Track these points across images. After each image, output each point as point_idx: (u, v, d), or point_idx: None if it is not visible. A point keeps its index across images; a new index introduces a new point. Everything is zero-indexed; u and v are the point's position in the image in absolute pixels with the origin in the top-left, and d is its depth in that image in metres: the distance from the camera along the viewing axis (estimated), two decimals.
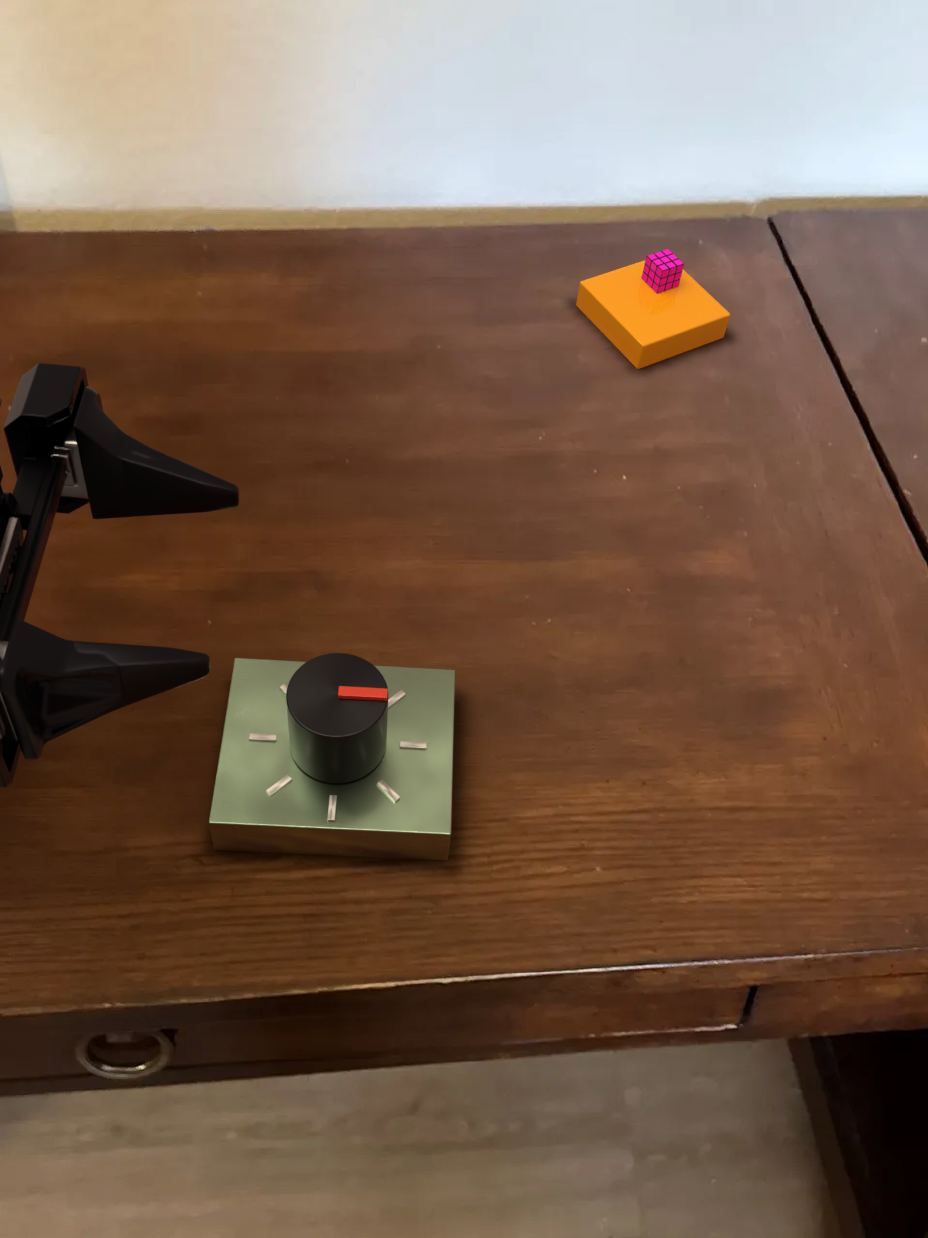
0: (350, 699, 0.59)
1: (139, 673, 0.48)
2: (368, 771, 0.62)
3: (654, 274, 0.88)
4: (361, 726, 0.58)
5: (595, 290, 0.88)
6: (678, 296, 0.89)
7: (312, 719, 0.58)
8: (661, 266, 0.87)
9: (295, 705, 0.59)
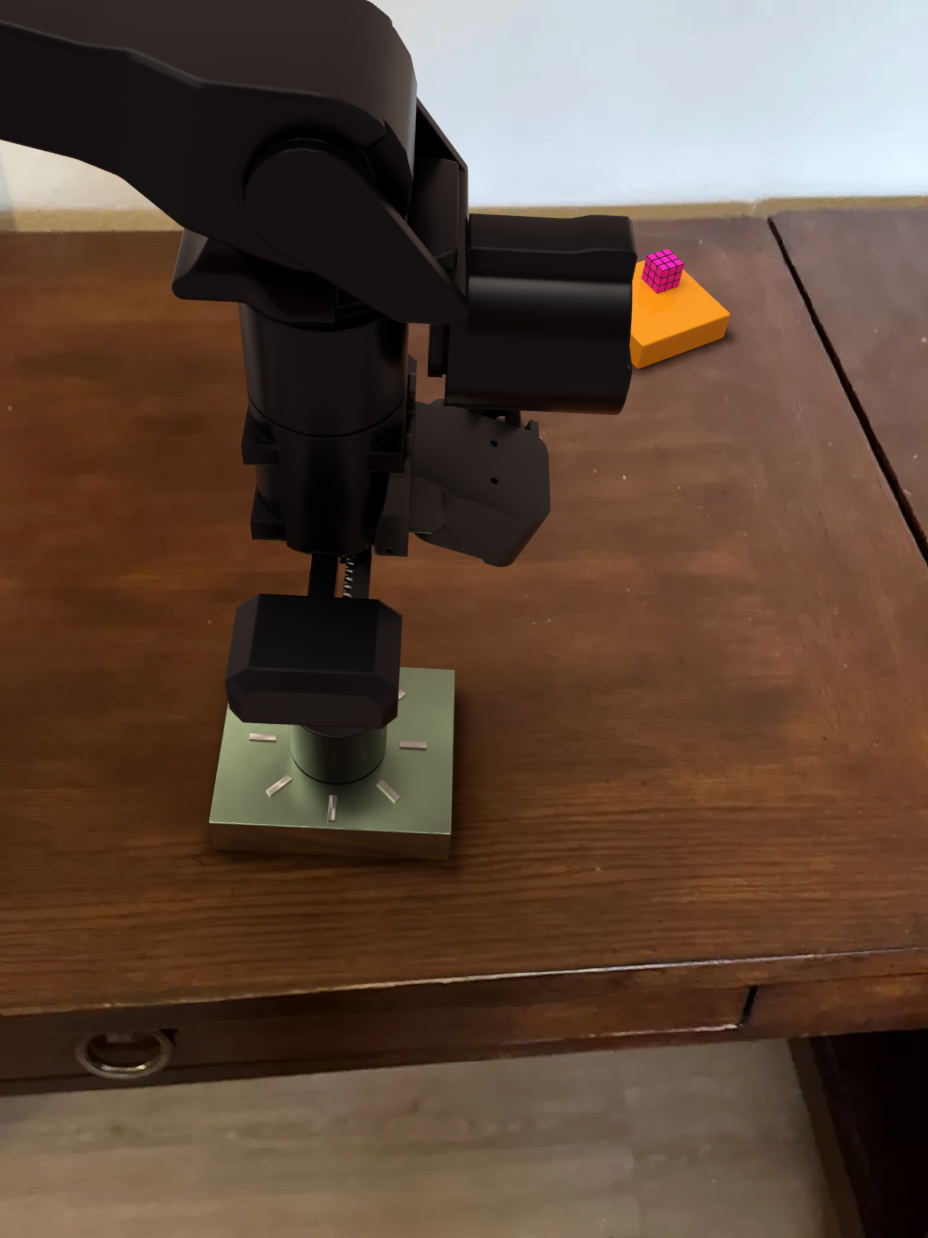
0: None
1: None
2: (368, 771, 0.62)
3: (654, 274, 0.88)
4: None
5: None
6: (678, 296, 0.89)
7: None
8: (661, 266, 0.87)
9: None
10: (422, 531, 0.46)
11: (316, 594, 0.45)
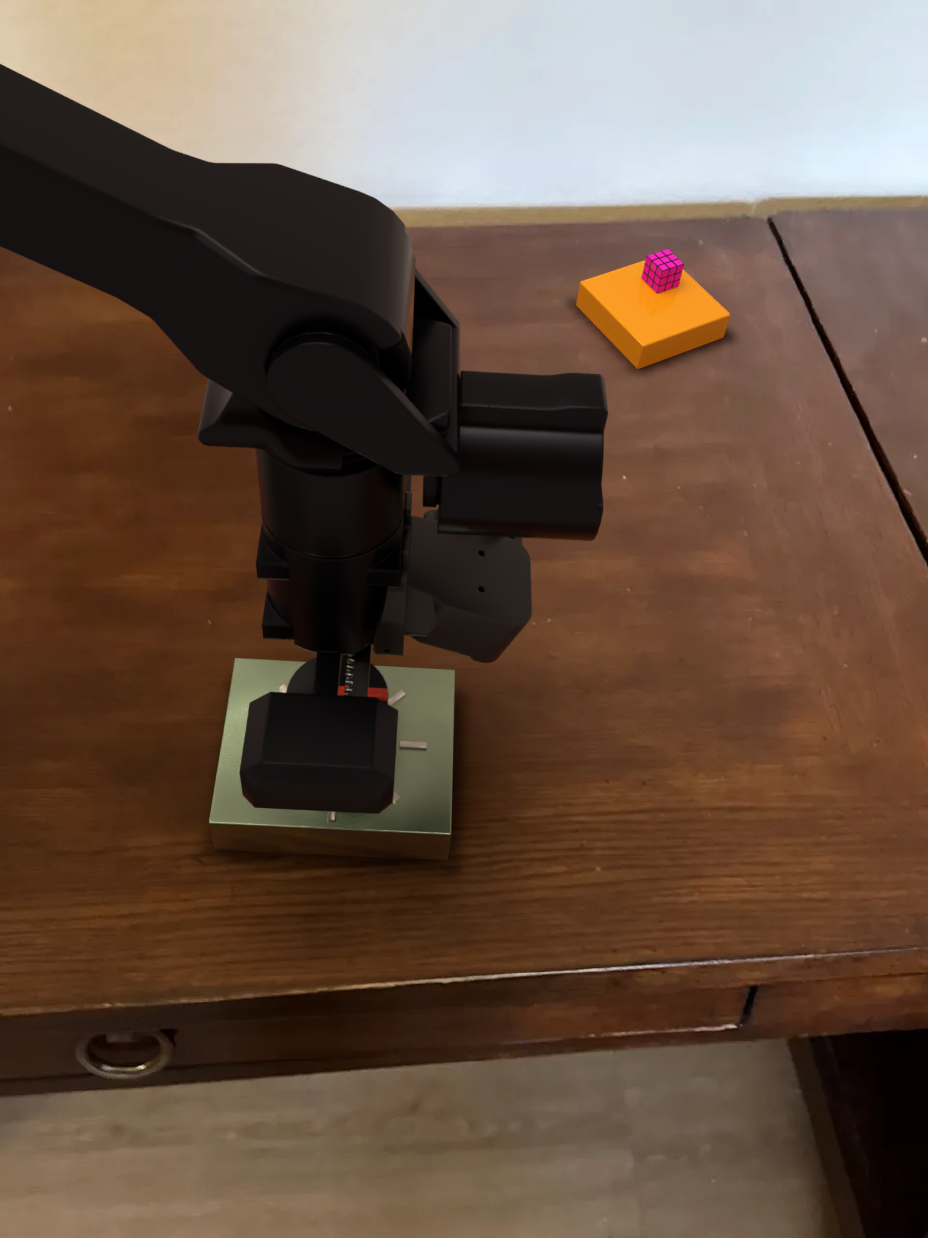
0: None
1: None
2: None
3: (654, 274, 0.88)
4: None
5: (595, 290, 0.88)
6: (678, 296, 0.89)
7: None
8: (661, 266, 0.87)
9: None
10: (416, 635, 0.51)
11: (321, 691, 0.50)
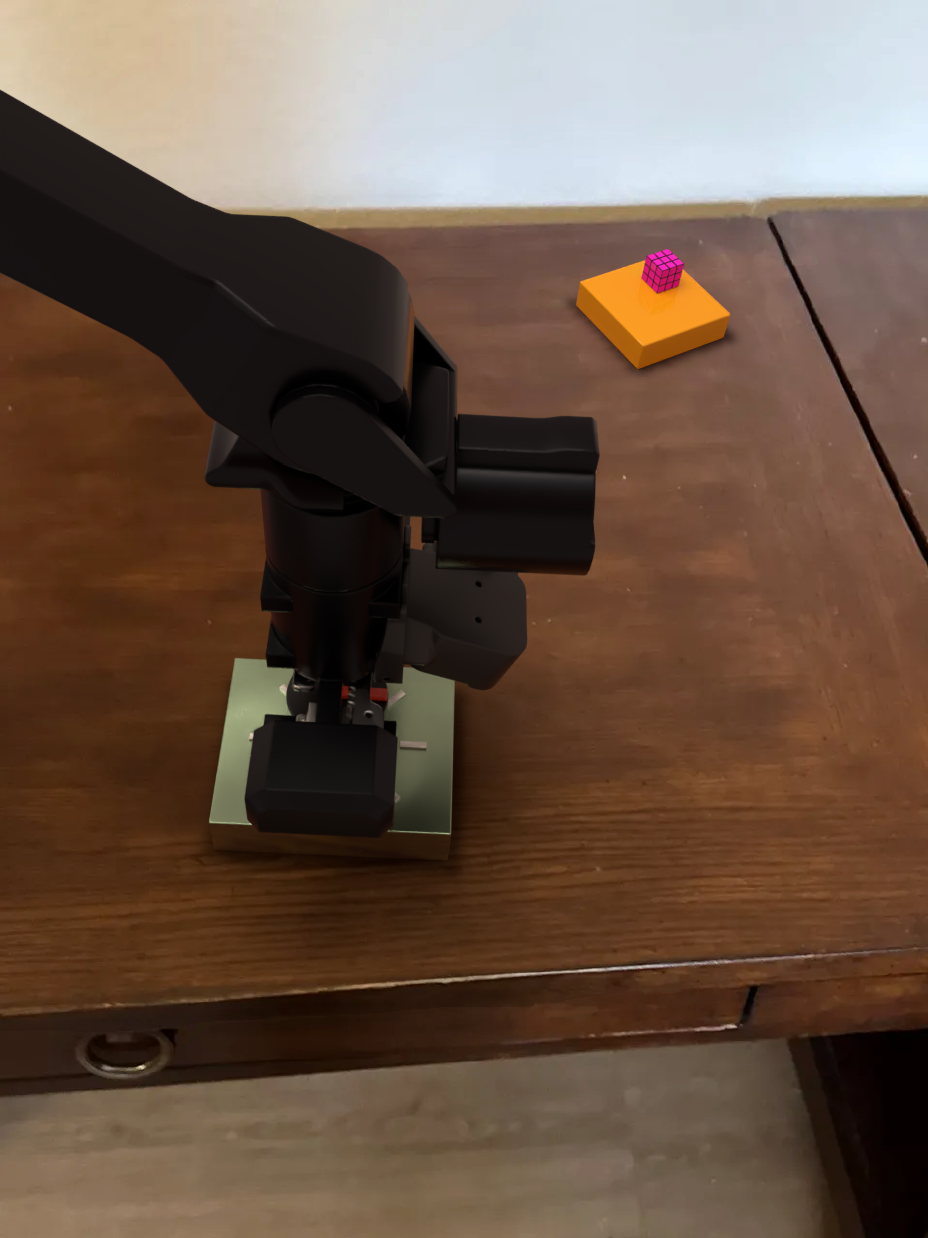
0: None
1: None
2: None
3: (654, 274, 0.88)
4: None
5: (595, 290, 0.88)
6: (678, 296, 0.89)
7: None
8: (661, 266, 0.87)
9: (295, 705, 0.59)
10: (415, 664, 0.52)
11: (323, 719, 0.52)
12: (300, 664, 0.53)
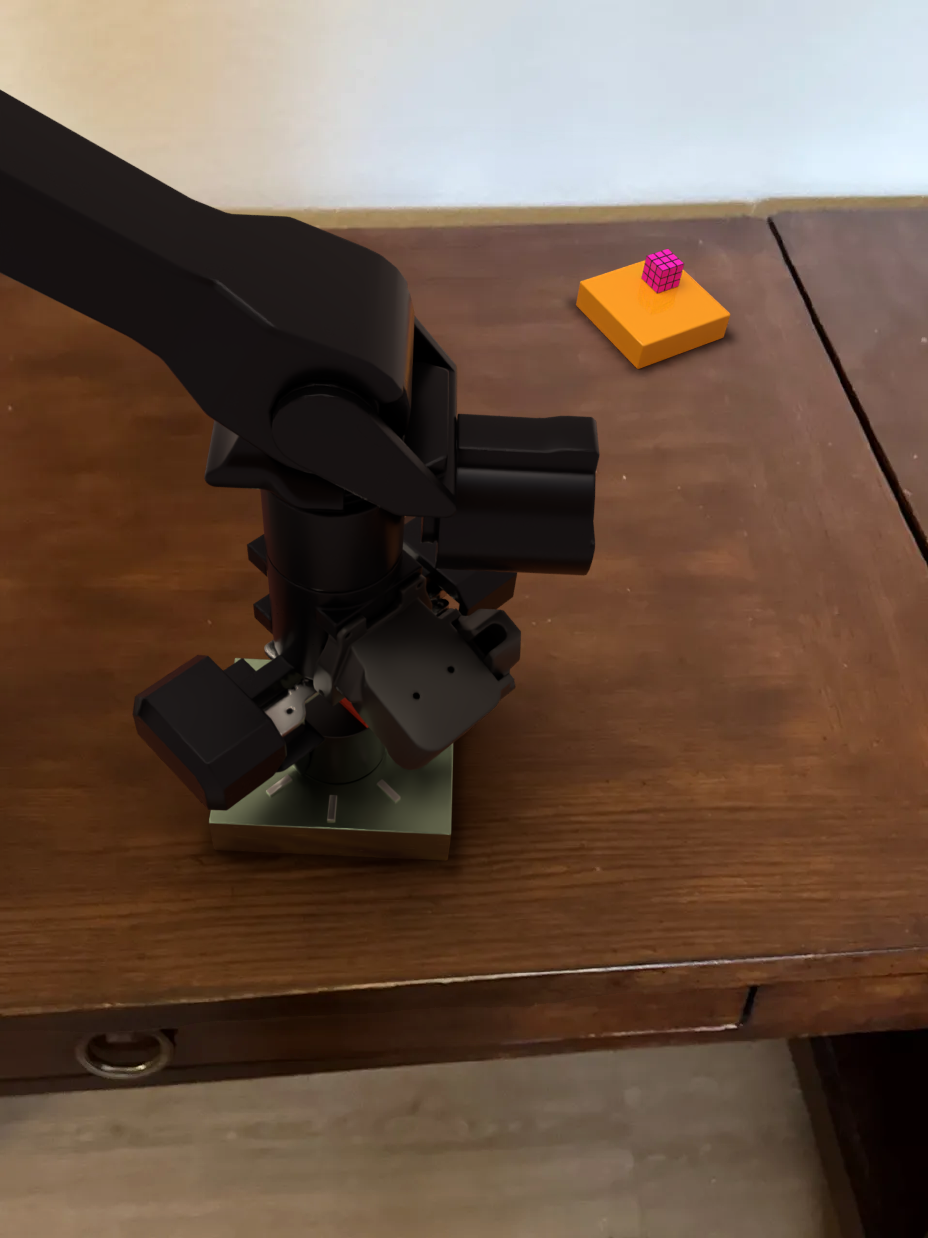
0: (341, 705, 0.59)
1: None
2: (333, 781, 0.61)
3: (654, 274, 0.88)
4: (327, 731, 0.58)
5: (595, 290, 0.88)
6: (678, 296, 0.89)
7: None
8: (661, 266, 0.87)
9: None
10: (342, 694, 0.51)
11: (247, 685, 0.53)
12: (273, 631, 0.54)
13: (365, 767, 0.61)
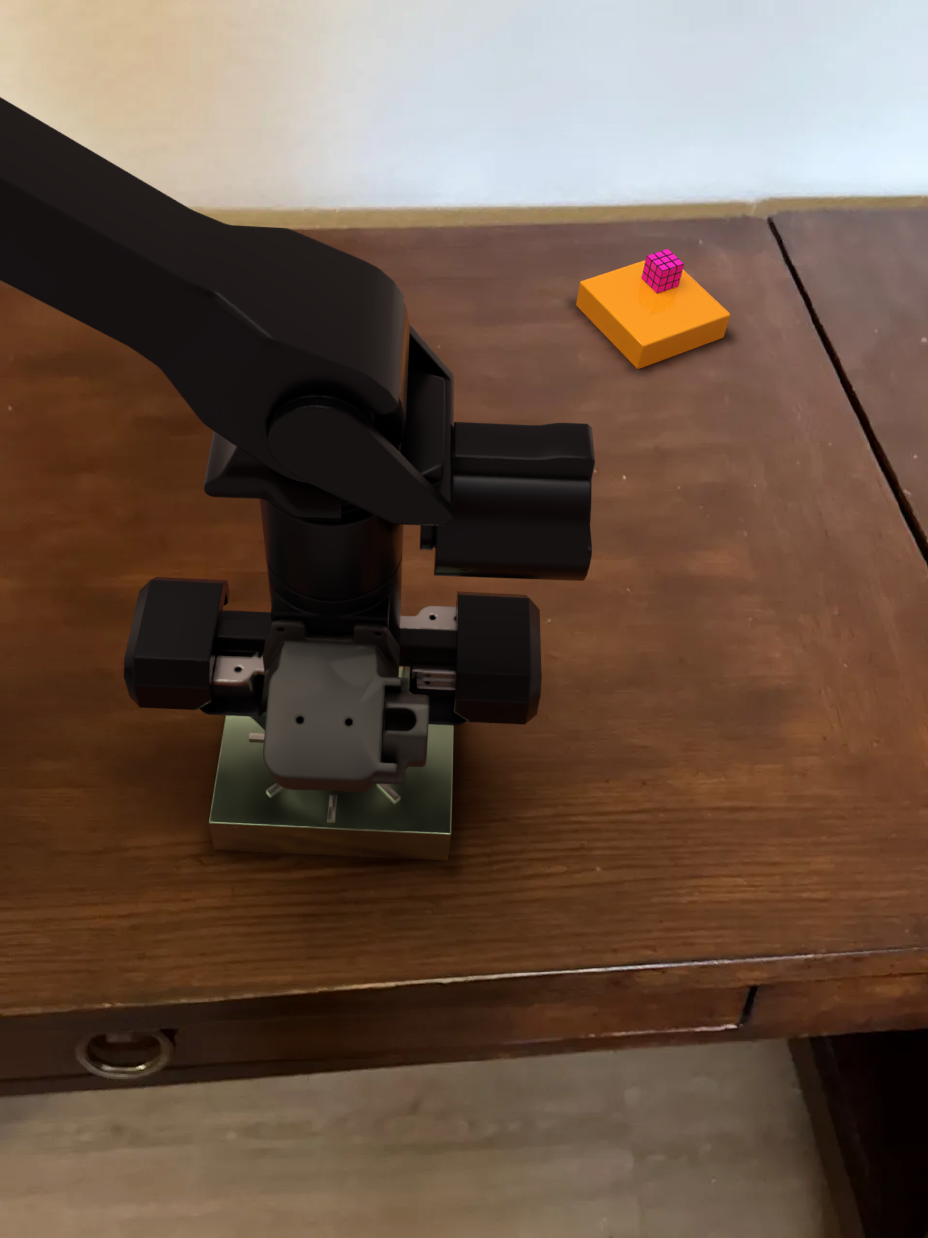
0: None
1: None
2: None
3: (654, 274, 0.88)
4: None
5: (595, 290, 0.88)
6: (678, 296, 0.89)
7: None
8: (661, 266, 0.87)
9: None
10: (265, 679, 0.52)
11: (230, 626, 0.55)
12: None
13: None
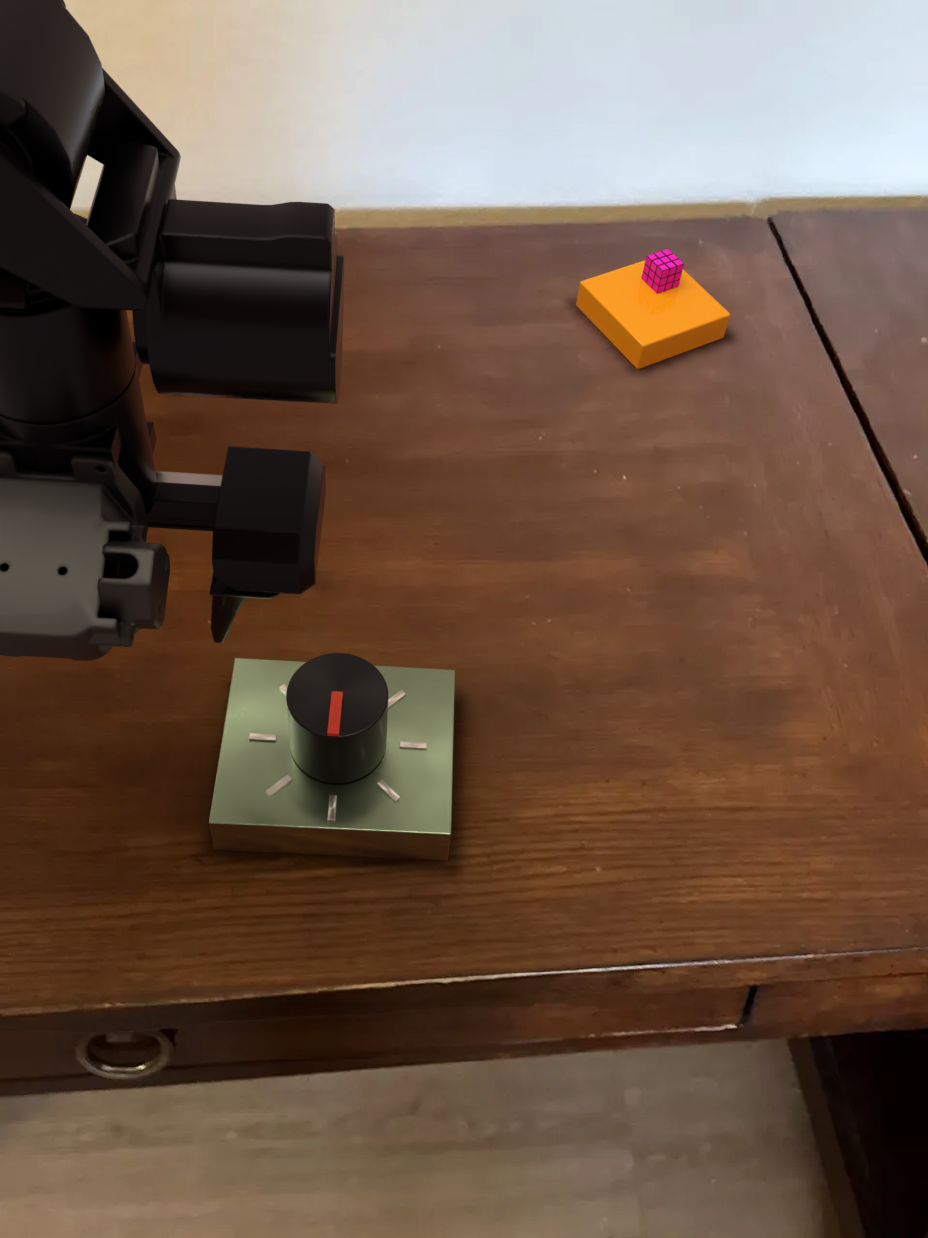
0: (330, 704, 0.59)
1: None
2: (299, 765, 0.62)
3: (654, 274, 0.88)
4: (298, 714, 0.59)
5: (595, 290, 0.88)
6: (678, 296, 0.89)
7: (307, 673, 0.60)
8: (661, 266, 0.87)
9: (325, 659, 0.61)
10: None
11: None
12: None
13: (326, 774, 0.61)
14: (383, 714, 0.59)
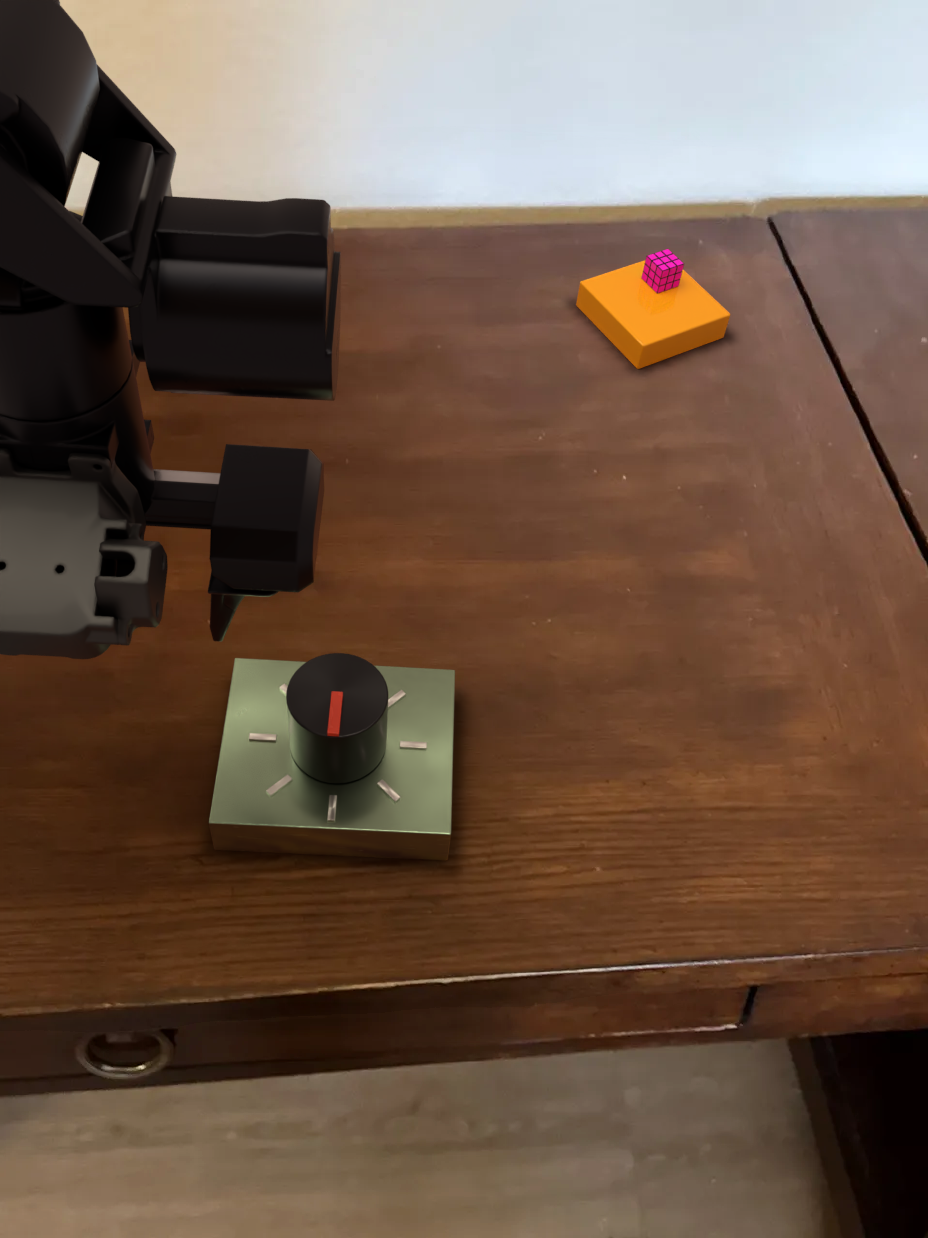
0: (330, 704, 0.59)
1: None
2: (299, 765, 0.62)
3: (654, 274, 0.88)
4: (298, 714, 0.59)
5: (595, 290, 0.88)
6: (678, 296, 0.89)
7: (307, 673, 0.60)
8: (661, 266, 0.87)
9: (325, 659, 0.61)
10: None
11: None
12: None
13: (326, 774, 0.61)
14: (383, 714, 0.59)
